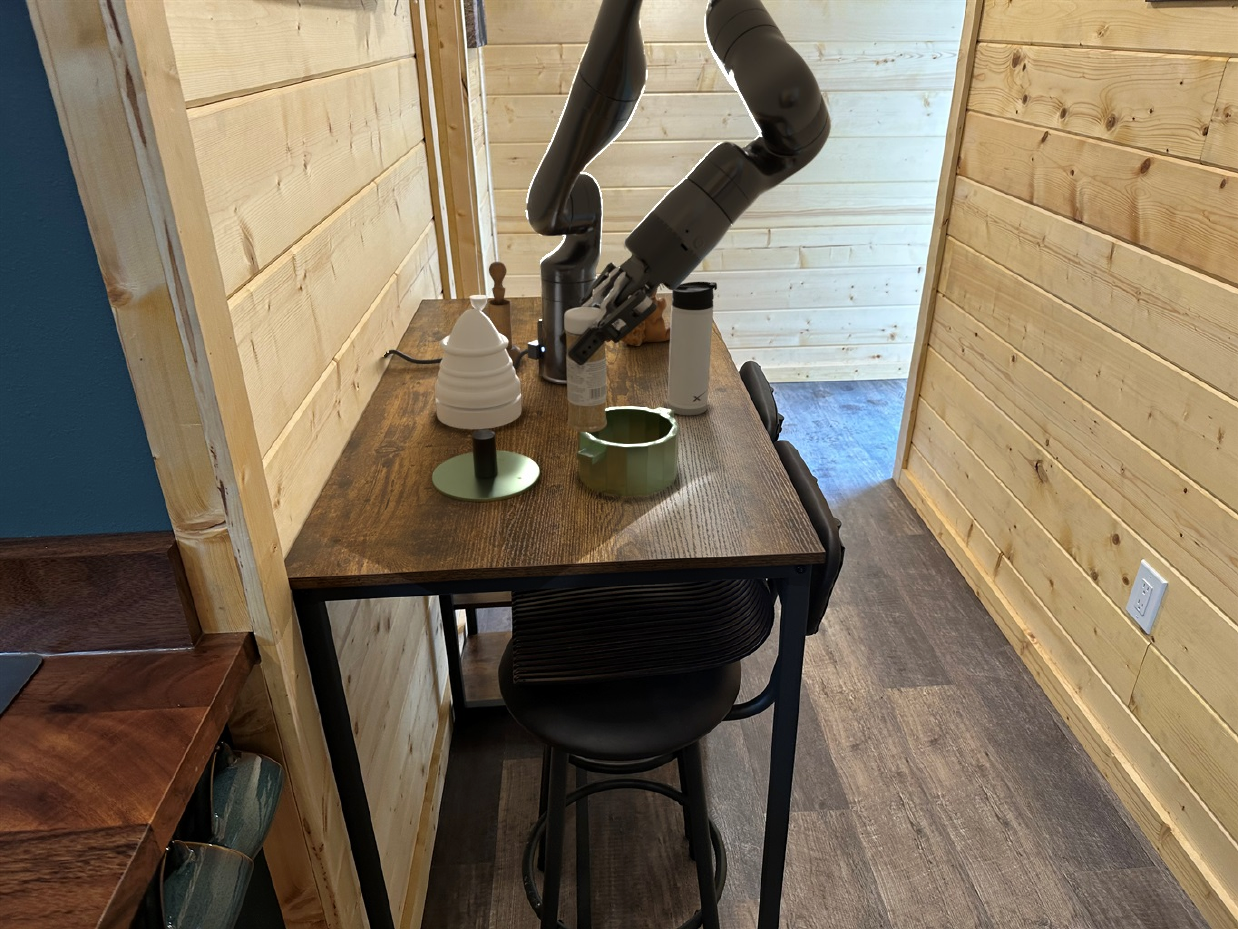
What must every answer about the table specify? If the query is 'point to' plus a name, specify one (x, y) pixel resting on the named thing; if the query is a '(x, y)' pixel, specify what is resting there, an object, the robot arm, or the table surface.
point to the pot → (630, 452)
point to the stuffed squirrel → (650, 326)
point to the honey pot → (476, 374)
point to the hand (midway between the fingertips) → (569, 351)
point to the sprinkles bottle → (585, 376)
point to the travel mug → (690, 347)
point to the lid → (485, 472)
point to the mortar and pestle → (501, 308)
